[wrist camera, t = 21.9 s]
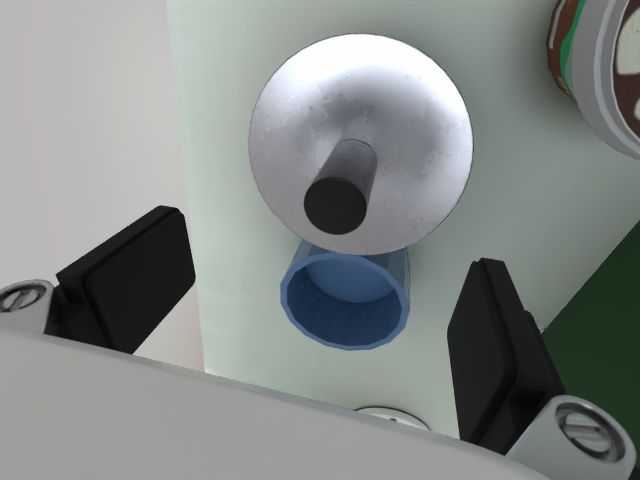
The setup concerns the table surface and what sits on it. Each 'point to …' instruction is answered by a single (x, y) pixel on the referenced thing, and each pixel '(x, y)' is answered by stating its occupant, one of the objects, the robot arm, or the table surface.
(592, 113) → the food container
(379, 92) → the lid
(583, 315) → the binder
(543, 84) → the table surface
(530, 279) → the table surface
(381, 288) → the blue cylindrical tin
